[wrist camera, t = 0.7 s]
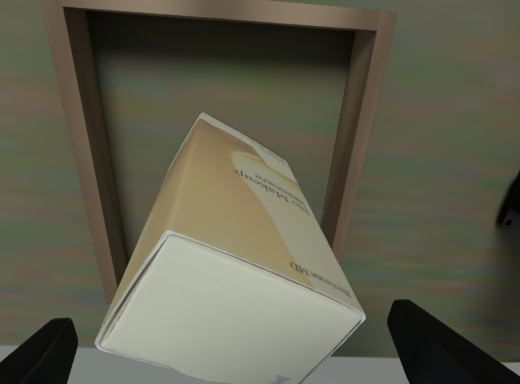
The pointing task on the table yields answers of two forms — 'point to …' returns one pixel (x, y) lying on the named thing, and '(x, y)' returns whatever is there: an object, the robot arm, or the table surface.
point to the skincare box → (231, 271)
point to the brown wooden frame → (218, 9)
